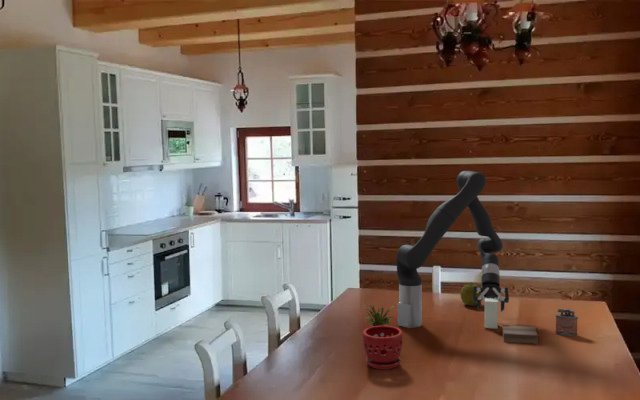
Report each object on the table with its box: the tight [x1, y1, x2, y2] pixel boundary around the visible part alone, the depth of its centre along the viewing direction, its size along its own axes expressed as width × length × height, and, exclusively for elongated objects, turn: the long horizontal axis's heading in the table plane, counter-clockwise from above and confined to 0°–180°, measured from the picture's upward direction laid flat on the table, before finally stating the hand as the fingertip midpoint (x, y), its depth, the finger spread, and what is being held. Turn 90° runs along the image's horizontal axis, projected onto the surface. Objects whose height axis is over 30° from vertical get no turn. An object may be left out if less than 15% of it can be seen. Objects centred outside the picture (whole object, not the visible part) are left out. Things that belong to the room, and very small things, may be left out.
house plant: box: [360, 301, 396, 337], centre depth 228 cm, size 14×14×16 cm
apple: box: [460, 281, 481, 307], centre depth 284 cm, size 10×10×11 cm
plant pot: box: [362, 325, 403, 370], centre depth 206 cm, size 13×13×12 cm
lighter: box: [554, 308, 579, 337], centre depth 237 cm, size 8×3×10 cm, turn 65°
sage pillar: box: [484, 298, 499, 330], centre depth 249 cm, size 5×5×11 cm
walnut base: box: [501, 324, 538, 344], centre depth 234 cm, size 12×12×3 cm
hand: (491, 310), depth 250 cm, fingers open, 8 cm apart
